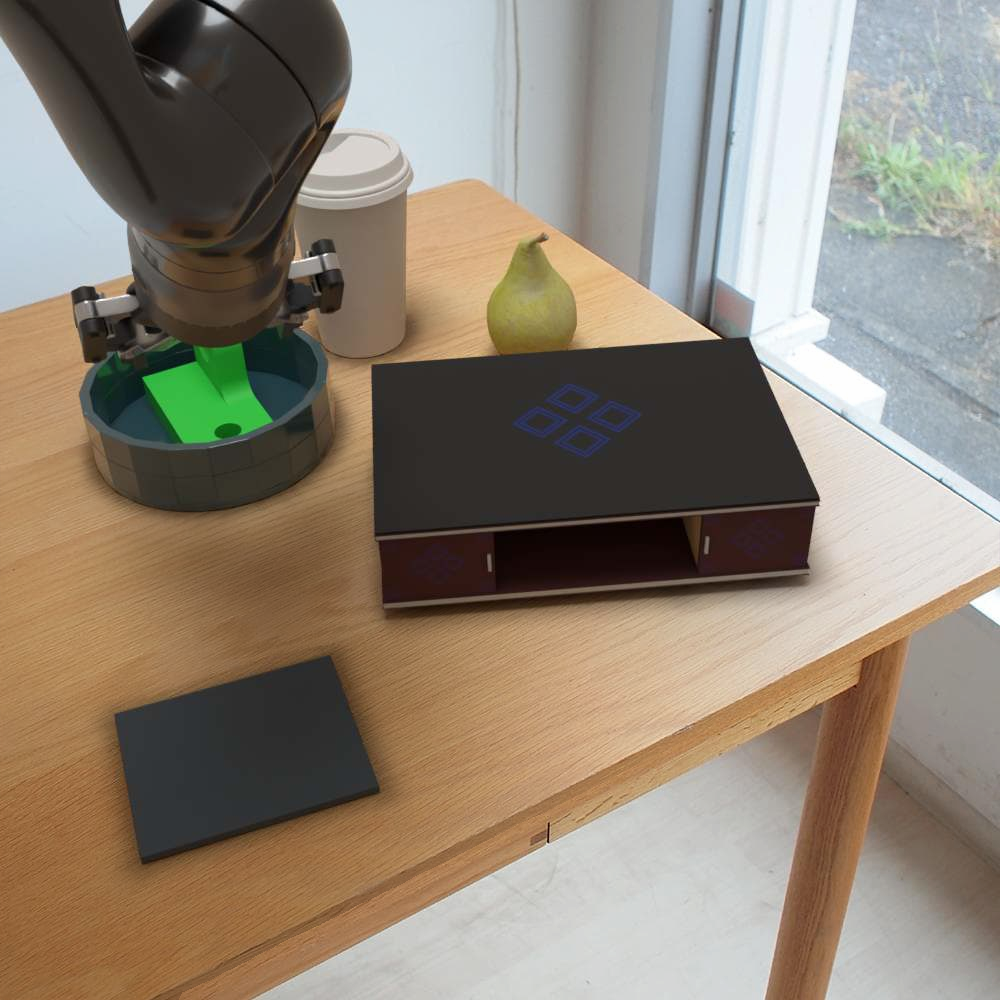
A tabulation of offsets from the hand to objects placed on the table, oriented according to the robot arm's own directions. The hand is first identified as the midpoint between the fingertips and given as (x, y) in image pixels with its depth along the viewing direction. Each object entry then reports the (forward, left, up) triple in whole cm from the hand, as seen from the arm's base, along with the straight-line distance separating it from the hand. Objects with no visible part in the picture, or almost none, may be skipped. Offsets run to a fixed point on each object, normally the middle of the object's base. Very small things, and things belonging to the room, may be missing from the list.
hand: (209, 337), depth 78 cm
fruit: (+24, +9, -13) cm, 29 cm away
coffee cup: (+13, +17, -13) cm, 25 cm away
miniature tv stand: (+20, -9, -13) cm, 25 cm away
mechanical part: (0, +8, -12) cm, 15 cm away
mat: (-4, -21, -13) cm, 25 cm away
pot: (0, +8, -13) cm, 15 cm away
